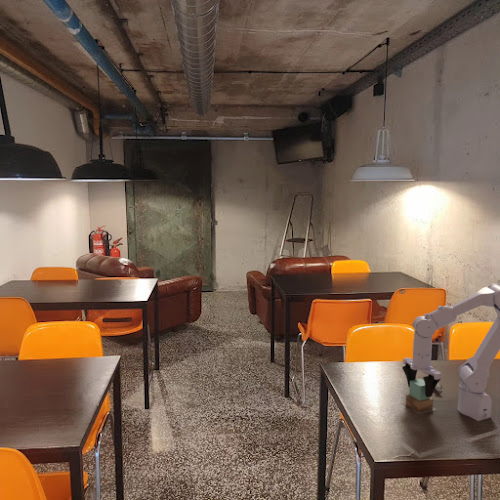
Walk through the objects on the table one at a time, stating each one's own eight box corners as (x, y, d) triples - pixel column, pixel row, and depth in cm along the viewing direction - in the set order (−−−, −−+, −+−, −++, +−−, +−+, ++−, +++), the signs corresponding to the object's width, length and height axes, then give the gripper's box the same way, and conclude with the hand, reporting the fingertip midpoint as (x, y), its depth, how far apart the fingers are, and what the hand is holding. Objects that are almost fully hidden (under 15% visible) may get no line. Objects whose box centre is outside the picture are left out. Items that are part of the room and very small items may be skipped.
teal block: (429, 398, 142) (430, 384, 141) (419, 400, 140) (420, 386, 140) (419, 392, 146) (420, 378, 146) (409, 394, 144) (409, 380, 144)
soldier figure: (444, 386, 163) (455, 390, 152) (434, 395, 163) (445, 399, 152) (428, 370, 165) (438, 373, 154) (419, 379, 165) (428, 382, 153)
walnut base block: (432, 408, 142) (433, 398, 142) (419, 412, 140) (419, 402, 139) (419, 400, 148) (419, 391, 147) (405, 404, 145) (406, 394, 145)
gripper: (397, 347, 146) (395, 384, 148) (430, 362, 133) (427, 403, 135) (412, 344, 149) (410, 381, 151) (446, 358, 136) (444, 399, 138)
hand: (419, 391), depth 143 cm, fingers open, 7 cm apart
